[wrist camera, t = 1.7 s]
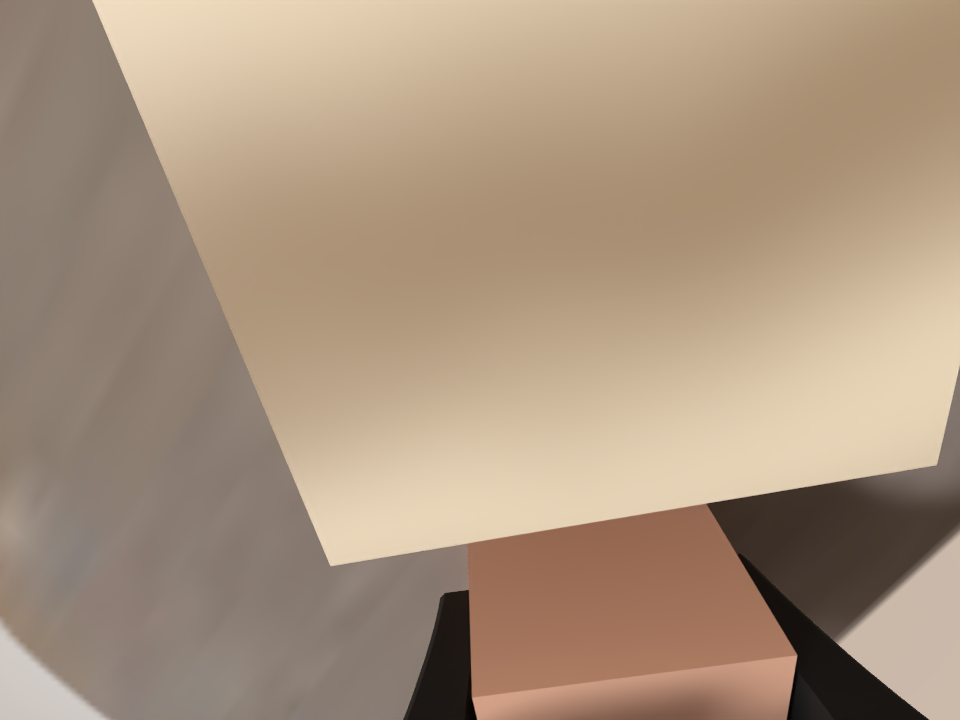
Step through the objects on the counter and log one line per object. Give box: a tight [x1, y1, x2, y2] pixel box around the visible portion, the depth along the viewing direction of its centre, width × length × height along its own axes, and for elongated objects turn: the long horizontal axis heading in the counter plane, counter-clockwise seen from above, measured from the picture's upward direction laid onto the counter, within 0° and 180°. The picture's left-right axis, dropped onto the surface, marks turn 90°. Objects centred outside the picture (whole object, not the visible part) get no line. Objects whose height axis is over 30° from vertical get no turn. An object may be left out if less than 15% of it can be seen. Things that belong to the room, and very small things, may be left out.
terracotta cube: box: [468, 504, 797, 720], centre depth 11 cm, size 4×4×4 cm
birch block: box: [93, 0, 960, 566], centre depth 7 cm, size 8×8×4 cm
